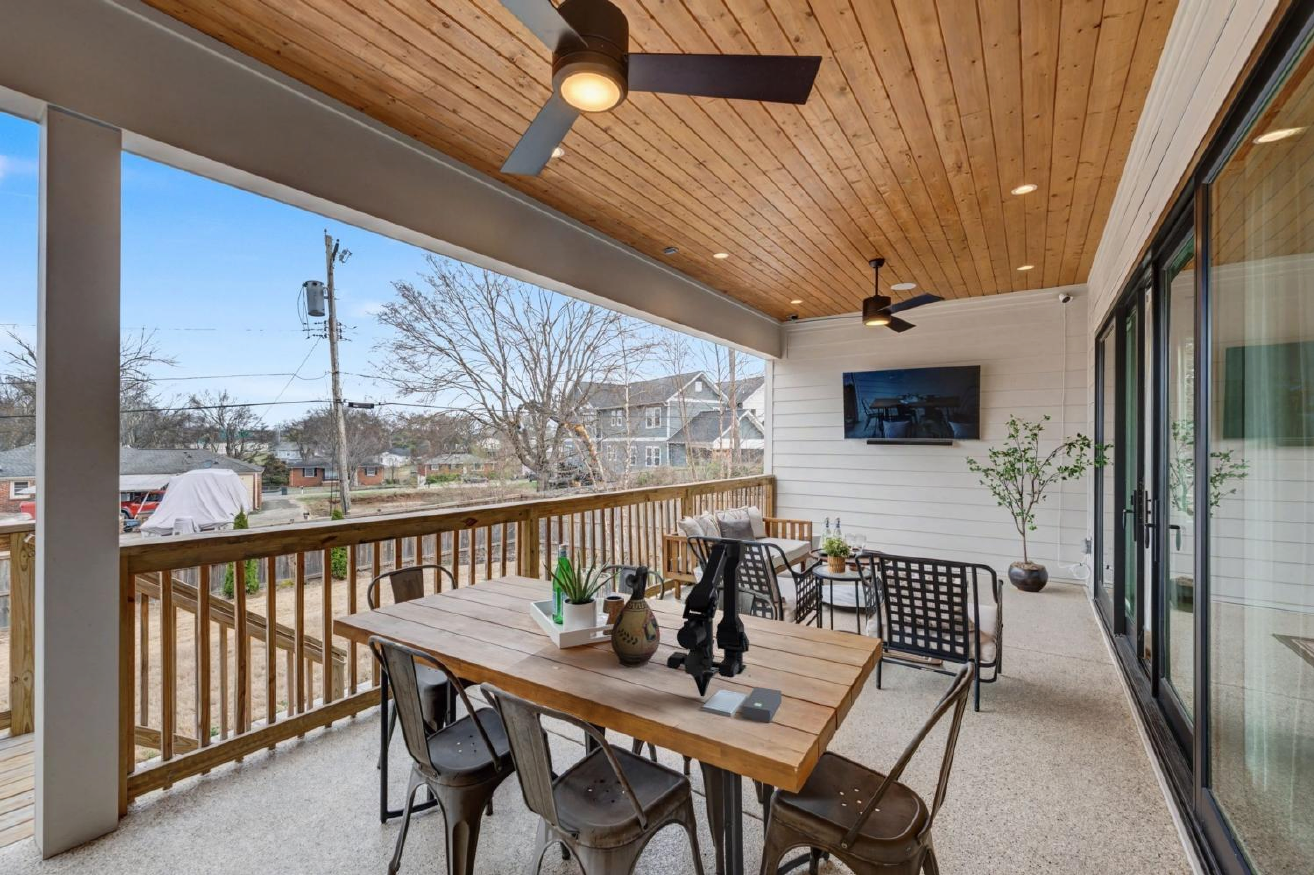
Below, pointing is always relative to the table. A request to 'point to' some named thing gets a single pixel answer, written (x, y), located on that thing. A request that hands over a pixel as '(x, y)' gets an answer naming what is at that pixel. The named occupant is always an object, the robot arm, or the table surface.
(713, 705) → the hard drive
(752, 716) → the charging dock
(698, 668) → the robot arm
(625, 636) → the ceramic jug
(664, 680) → the table surface
